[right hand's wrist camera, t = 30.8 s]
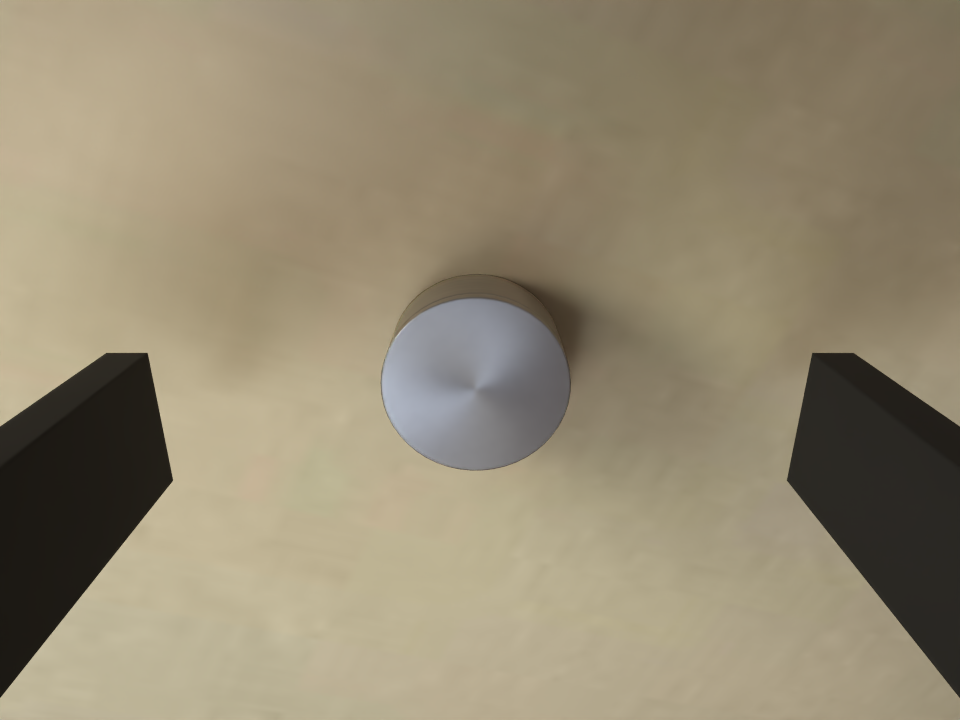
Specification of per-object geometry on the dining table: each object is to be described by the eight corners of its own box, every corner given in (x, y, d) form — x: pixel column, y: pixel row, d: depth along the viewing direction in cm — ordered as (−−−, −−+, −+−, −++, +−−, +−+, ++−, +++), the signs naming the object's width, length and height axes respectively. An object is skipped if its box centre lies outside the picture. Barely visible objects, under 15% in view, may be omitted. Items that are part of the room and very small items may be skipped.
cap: (455, 459, 17) (452, 501, 15) (357, 335, 16) (341, 365, 14) (592, 377, 16) (606, 411, 14) (500, 239, 15) (502, 258, 13)
